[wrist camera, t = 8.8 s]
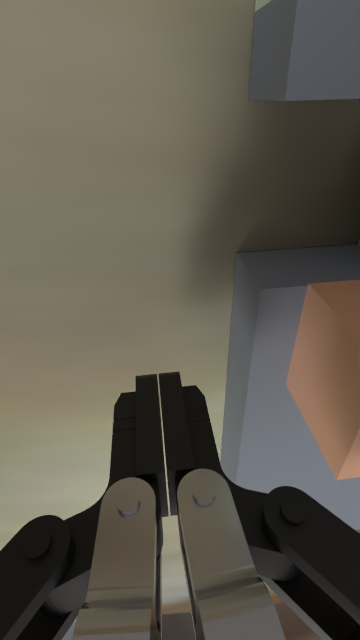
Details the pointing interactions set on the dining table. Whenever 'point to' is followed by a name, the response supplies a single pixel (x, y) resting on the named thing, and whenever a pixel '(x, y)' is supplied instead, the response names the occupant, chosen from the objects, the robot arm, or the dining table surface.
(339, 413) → the block
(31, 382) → the dining table surface
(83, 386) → the dining table surface
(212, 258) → the dining table surface
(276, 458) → the board
